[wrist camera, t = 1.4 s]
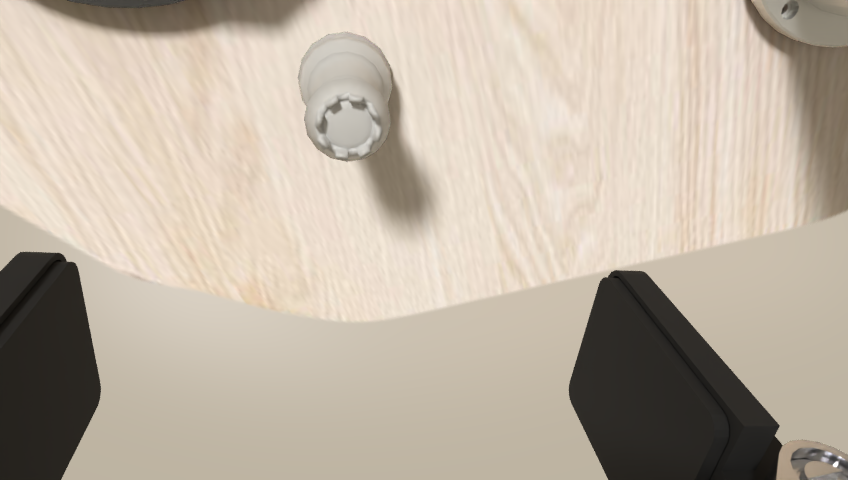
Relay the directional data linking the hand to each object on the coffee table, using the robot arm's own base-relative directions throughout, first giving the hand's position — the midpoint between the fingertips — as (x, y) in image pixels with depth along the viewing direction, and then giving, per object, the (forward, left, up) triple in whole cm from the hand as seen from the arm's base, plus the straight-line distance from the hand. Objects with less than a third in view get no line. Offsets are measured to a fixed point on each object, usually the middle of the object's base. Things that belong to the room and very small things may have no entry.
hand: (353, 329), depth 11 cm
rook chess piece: (0, 0, -20) cm, 20 cm away
